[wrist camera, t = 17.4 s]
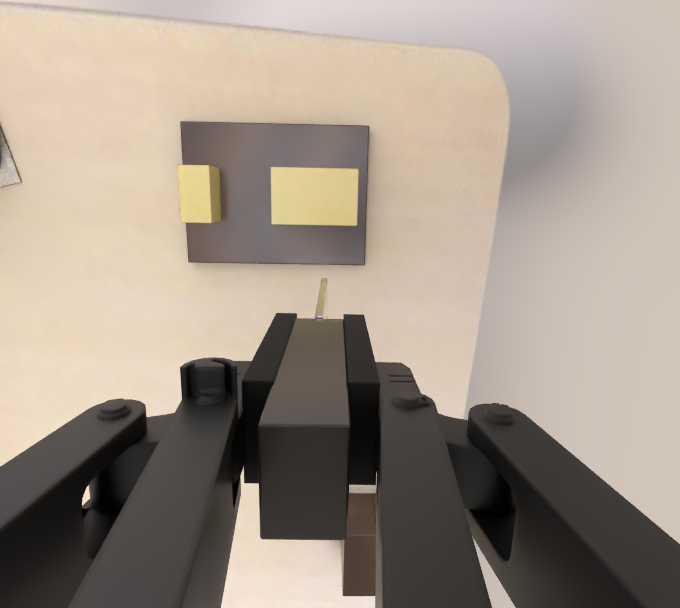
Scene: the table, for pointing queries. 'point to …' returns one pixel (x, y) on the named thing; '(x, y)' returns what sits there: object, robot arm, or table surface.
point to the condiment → (6, 165)
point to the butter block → (314, 196)
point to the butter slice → (199, 193)
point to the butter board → (255, 191)
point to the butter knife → (307, 435)
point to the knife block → (360, 547)
